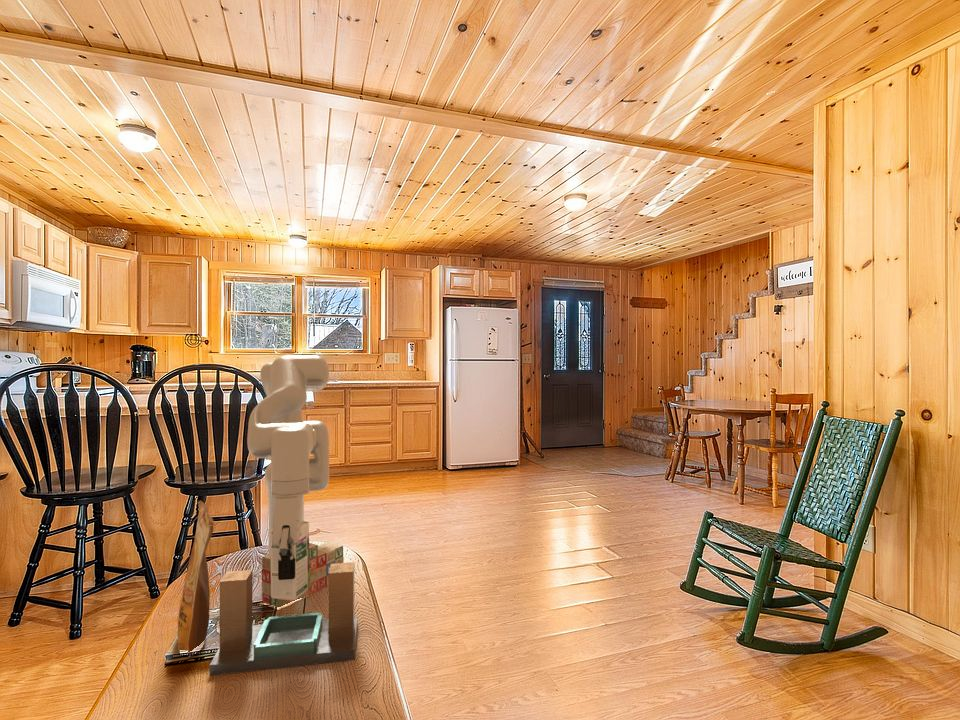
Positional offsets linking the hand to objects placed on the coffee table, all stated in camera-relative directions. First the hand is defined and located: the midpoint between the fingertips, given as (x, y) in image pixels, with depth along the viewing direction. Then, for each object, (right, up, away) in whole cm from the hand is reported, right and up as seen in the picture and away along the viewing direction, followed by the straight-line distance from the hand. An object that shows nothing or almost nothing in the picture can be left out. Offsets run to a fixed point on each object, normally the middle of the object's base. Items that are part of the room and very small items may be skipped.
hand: (290, 570), depth 107 cm
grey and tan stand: (0, -16, 0) cm, 16 cm away
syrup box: (0, -5, 0) cm, 5 cm away
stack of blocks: (-6, -17, +27) cm, 32 cm away
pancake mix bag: (-22, -16, +4) cm, 28 cm away
